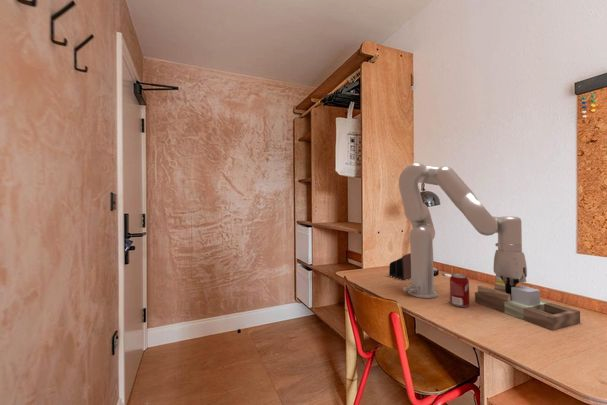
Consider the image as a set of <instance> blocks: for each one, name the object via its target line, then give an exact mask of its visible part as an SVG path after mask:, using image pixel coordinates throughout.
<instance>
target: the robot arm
mask: <svg viewBox="0 0 607 405" xmlns="http://www.w3.org/2000/svg"><path fill="white" fill-rule="evenodd" d="M419 184H426V185H433V186H439V188H440V189H441V191H443V192H444V194H445V195H446V196H447V197H448V198H449V200H450V201H451V203H453V205H454V206H455V207H456V208H457V209H458V210H459V211H460V212H461V214H463V216H464V217H465V218H466V220H467V221H468V222H469V223H470V225H472V226H473V228H474V229H475V230H476V231H477V233H479V234H480V235H482V236H493V235H495V234H497V242H496V243H495V244H494V245H495V247H497V249H496V250H495V252H494V257H493V273H494V275H495V277H496V276H498V277H500V278H501V279H502V280H503V282H504V283H505V291H506V293H507V294H510V295H511V287H516V285H517V286H518V284H519V283H523V284H524V283H526V282H527V277H528V267H527V260H526V255H525V252H523V237H522V235H523V233H522V232H523V231H522V229H523V228H522V220H521V219H522V218H520V217H519V216H493V215H492V214H491V213H490V212H489V211H488V210H487V209H486V207H485V206H484V205H483V204H482V203H481V202H480V201H479V199H478V198H477V197H476V196H477V195H476V194H475V193H474V192H473V190H472V189H471V188H470V187H469V186H468V185H467V183H465V181H464V180H463V179H462V177H460V176H459V175H458V173H457V172H456V171H455V170H454V169H453V168H452V167H450V166H447V165H446V166H441V167H437V166H429V165H424V164H423V163H421V162H412V163H410V164H408V165H407V166H405V167H404V168H403V170H402V171H401V172H400V174H399V177H398V188H399V192H400V197H401V202H402V205H403V210H404V215H405V218H406V219H407V220H408V221H410V223H411V226H412V228H411V230H410V232H409V238H408V239H409V247H410V253H411V279H410V282H411V283H409V285H407V286H403V287H402V291H404V292H407V293H408V294H409V295H410V296H413V297H416V298H421V299H434V298H437V297H438V296H439V295H438V294H439V293H438V291H437V290H435V287H434V286H435V282H434V281H435V280H434V279H435V278H434V277H435V276H434V248H433V246H434V245H433V242H434V241H433V240H434V239H435V237H436V230H435V225H434V223H433V218H432V216H431V212H430V209H429V207H428V206H427V205H426V204H425V203H424V202H423V197H422V195H421V191H420V188H419Z"/></svg>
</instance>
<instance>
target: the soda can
mask: <svg viewBox="0 0 607 405" xmlns="http://www.w3.org/2000/svg"><path fill="white" fill-rule="evenodd" d="M449 303H450V304H451V305H453V306H455V307H458V308H466V307H468V306H470V281H469V278H468V276H467V275H466V274H463V273H452V274H451V276H450V278H449Z"/></svg>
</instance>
